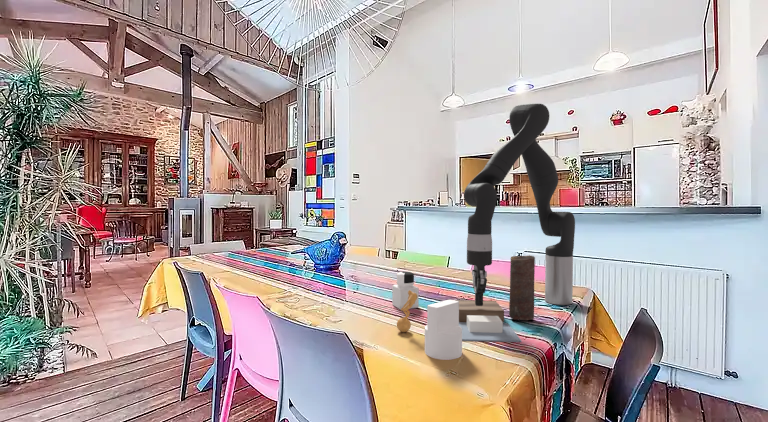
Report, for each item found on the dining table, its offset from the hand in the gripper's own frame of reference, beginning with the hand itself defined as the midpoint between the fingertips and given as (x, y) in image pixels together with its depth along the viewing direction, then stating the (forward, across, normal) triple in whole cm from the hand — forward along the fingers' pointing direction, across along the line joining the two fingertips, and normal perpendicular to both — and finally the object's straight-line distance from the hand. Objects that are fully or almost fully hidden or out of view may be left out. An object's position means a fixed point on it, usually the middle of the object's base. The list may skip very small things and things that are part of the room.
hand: (478, 305), depth 121 cm
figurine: (+5, -12, +22) cm, 25 cm away
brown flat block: (+5, +4, 0) cm, 7 cm away
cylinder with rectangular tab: (+6, -26, +13) cm, 29 cm away
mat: (+5, -10, 0) cm, 11 cm away
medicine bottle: (+5, +16, +23) cm, 29 cm away
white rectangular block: (+3, -8, 0) cm, 9 cm away
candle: (+5, +3, -14) cm, 15 cm away
